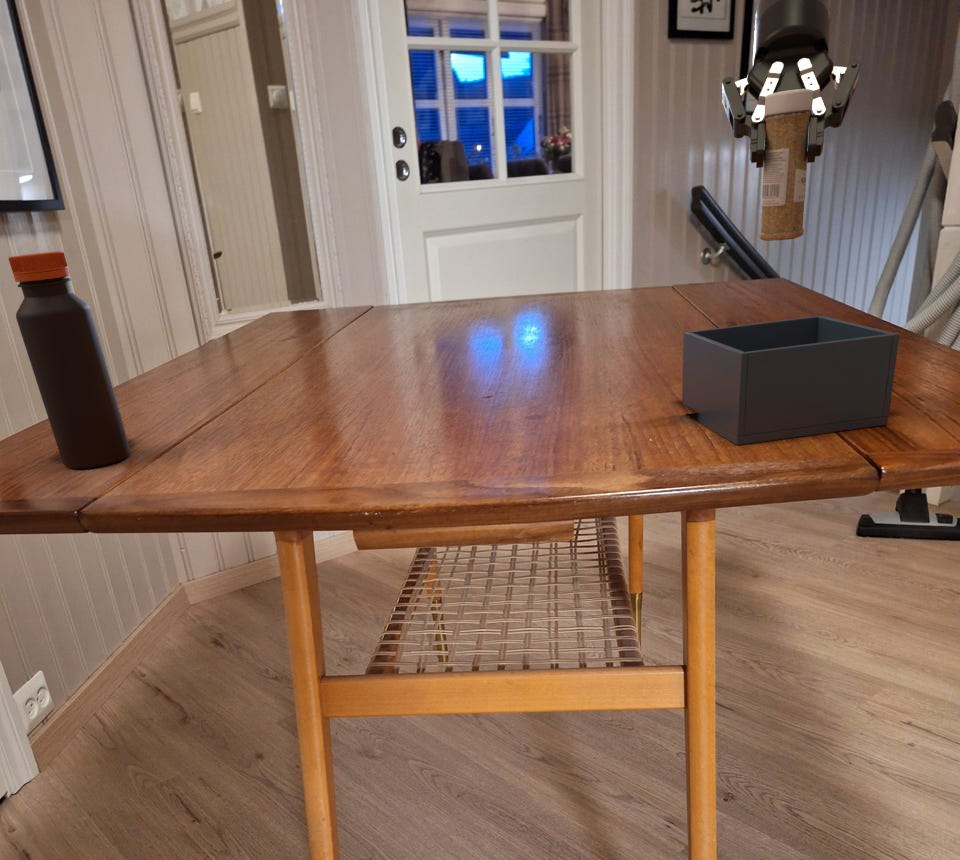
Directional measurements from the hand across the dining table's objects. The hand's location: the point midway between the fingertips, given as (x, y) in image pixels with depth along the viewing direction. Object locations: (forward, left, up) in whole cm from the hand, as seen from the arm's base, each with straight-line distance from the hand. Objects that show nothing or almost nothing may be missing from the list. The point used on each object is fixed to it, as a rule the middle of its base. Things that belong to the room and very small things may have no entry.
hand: (785, 158), depth 87 cm
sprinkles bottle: (-1, -2, -8) cm, 8 cm away
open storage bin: (+7, +16, -22) cm, 28 cm away
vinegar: (+74, -2, -22) cm, 77 cm away
